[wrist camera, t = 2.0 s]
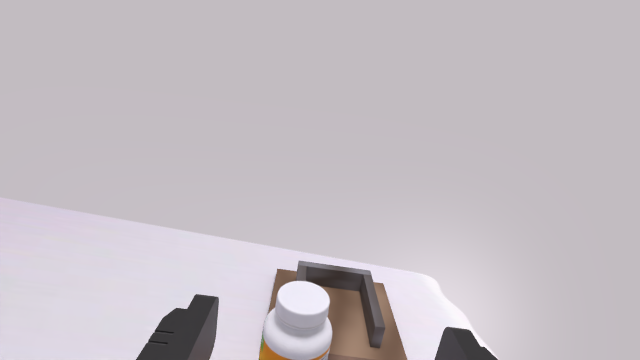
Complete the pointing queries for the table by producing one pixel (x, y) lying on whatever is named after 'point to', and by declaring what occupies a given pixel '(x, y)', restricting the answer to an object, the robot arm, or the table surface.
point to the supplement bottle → (297, 324)
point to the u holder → (351, 311)
